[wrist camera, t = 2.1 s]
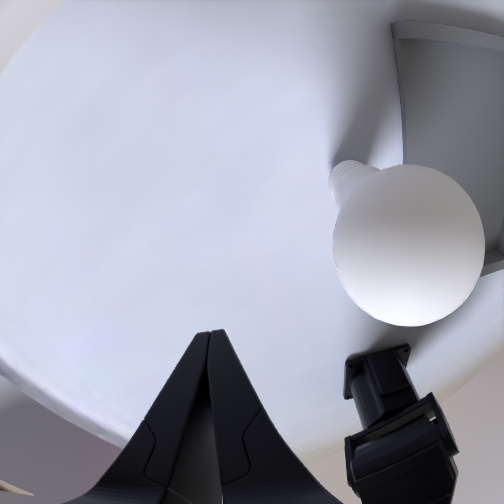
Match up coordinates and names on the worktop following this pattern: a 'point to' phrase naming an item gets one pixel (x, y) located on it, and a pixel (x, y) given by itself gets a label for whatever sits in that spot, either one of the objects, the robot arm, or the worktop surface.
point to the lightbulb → (405, 241)
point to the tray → (456, 115)
